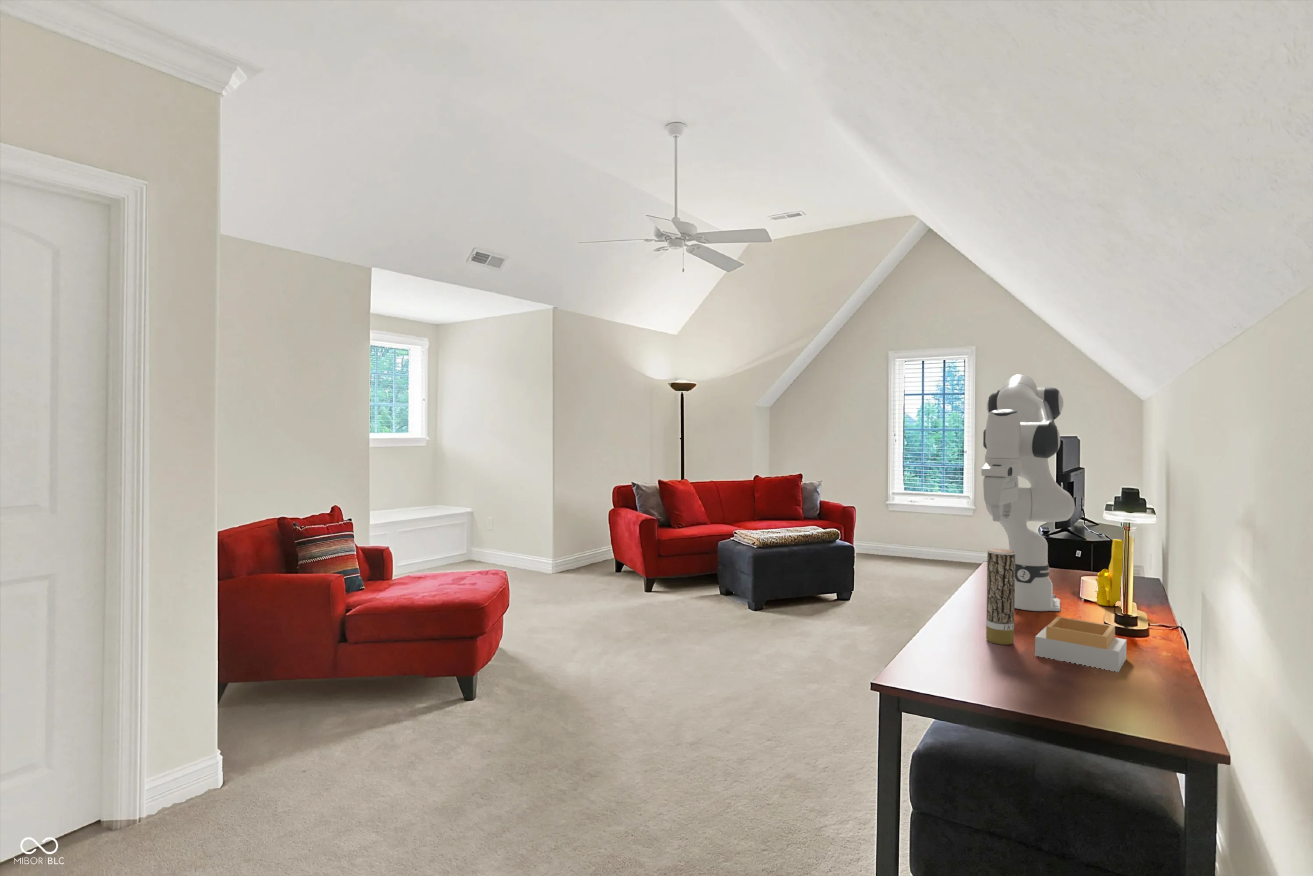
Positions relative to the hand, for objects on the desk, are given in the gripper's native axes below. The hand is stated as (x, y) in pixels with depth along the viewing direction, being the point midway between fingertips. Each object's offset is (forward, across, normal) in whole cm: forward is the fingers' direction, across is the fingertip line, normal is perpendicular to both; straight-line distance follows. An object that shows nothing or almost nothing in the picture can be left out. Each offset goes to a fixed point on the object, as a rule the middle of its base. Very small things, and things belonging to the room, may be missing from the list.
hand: (1001, 519), depth 189 cm
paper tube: (+34, 0, 0) cm, 34 cm away
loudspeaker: (+34, 0, +19) cm, 39 cm away
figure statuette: (+33, -68, +16) cm, 78 cm away
